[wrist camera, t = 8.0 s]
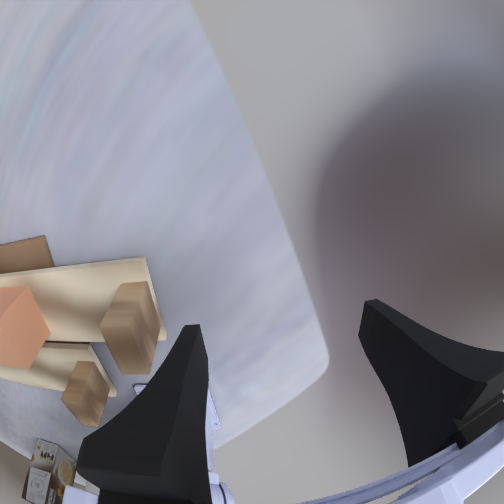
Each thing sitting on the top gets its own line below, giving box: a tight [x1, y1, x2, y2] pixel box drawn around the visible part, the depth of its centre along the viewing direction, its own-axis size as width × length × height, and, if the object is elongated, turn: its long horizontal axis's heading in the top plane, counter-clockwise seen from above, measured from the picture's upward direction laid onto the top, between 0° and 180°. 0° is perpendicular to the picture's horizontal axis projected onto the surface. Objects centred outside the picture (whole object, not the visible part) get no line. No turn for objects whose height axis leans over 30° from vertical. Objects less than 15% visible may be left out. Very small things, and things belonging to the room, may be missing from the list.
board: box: [0, 235, 88, 344], centre depth 20 cm, size 18×22×1 cm
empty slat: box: [0, 342, 117, 427], centre depth 19 cm, size 7×20×6 cm, turn 94°
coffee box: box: [22, 439, 77, 504], centre depth 27 cm, size 9×6×16 cm
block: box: [0, 285, 51, 370], centre depth 16 cm, size 5×5×5 cm
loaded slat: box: [0, 257, 167, 374], centre depth 17 cm, size 7×20×6 cm, turn 94°
